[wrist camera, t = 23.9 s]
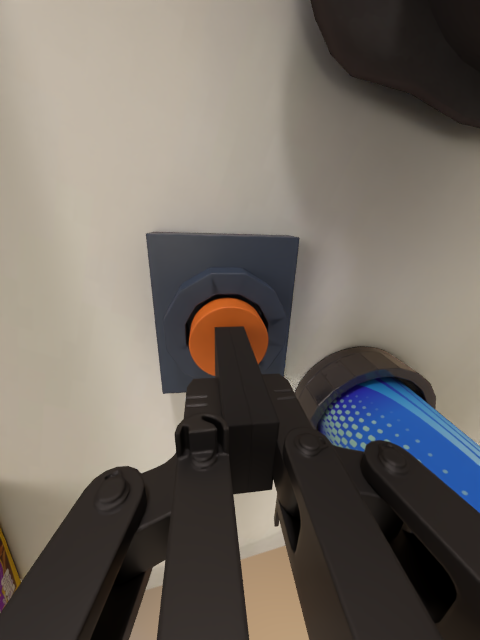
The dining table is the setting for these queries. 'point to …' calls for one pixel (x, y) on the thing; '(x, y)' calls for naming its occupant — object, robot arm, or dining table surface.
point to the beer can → (405, 431)
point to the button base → (218, 292)
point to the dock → (354, 378)
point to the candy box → (7, 574)
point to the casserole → (410, 48)
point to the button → (224, 315)
